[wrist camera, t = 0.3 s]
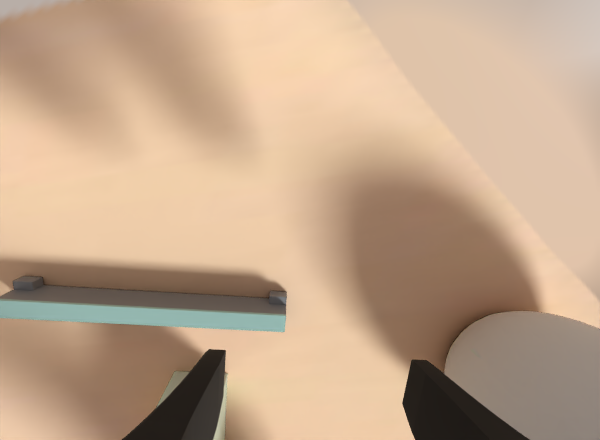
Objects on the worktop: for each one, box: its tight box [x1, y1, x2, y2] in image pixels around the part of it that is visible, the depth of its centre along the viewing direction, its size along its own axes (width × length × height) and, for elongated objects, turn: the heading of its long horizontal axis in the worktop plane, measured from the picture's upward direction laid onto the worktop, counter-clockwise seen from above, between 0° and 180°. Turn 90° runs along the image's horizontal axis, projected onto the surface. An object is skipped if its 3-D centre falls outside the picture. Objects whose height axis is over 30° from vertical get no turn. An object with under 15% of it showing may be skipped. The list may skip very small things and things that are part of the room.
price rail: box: [0, 276, 287, 332], centre depth 19 cm, size 2×18×2 cm, turn 85°
